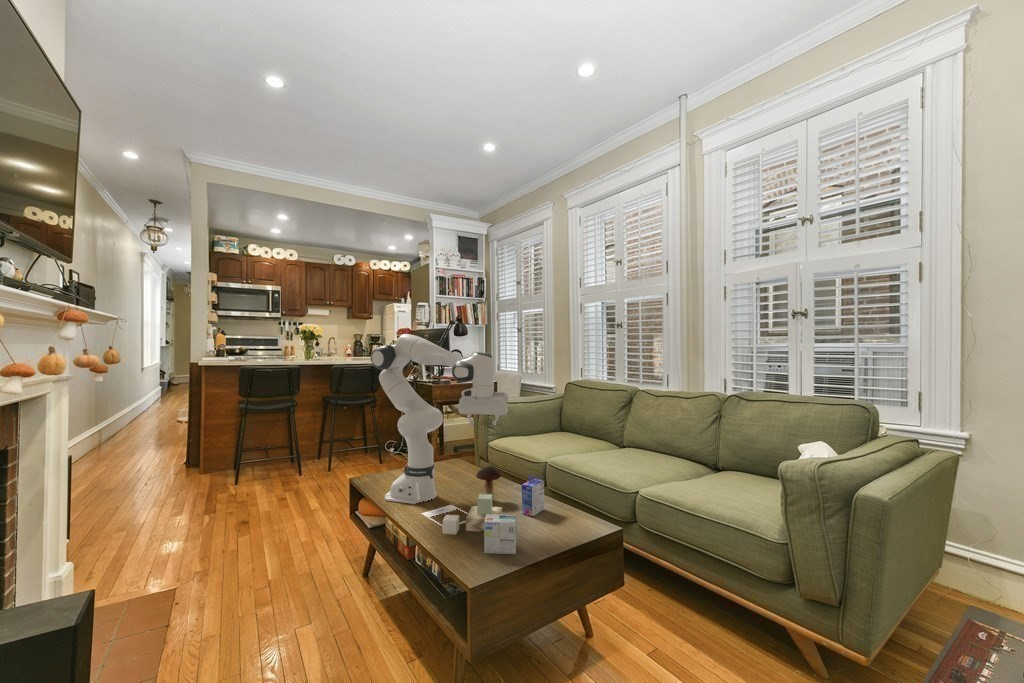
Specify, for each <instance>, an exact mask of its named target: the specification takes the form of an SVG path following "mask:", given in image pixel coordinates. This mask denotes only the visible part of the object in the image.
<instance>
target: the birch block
mask: <svg viewBox="0 0 1024 683" xmlns="http://www.w3.org/2000/svg"><path fill="white" fill-rule="evenodd" d="M467 513H468V515H467V514H466V517H465V521H466V522H465V532H480V531H484V521H485V517H486V515H477V505H472V506H471V507H470V509H469V511H468V512H467ZM491 514H503V507H502V506H492V512H491Z"/></svg>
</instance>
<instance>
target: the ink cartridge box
mask: <svg viewBox="0 0 1024 683" xmlns="http://www.w3.org/2000/svg"><path fill="white" fill-rule="evenodd" d="M527 479H528V481H526V482H524V483H523V484H521V509H522V512H521V513H522V515H524V514H526V515H525V516H528V515H530V516H529V517H531V516H533V517H534V516H536V515H537V514H539V513H540V512H541V513H542V511H544V510H545V480H544V479H539V478H535V477H534V475H533V474H531V475H529V476H527Z"/></svg>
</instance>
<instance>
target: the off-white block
mask: <svg viewBox="0 0 1024 683" xmlns="http://www.w3.org/2000/svg"><path fill="white" fill-rule="evenodd" d="M459 523H460V515H458V514H445V516H444V517H443V519H442V525H443V527H442V535H443V534H444V535H457V533H459V530H460V524H459Z"/></svg>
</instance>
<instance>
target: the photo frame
mask: <svg viewBox="0 0 1024 683" xmlns="http://www.w3.org/2000/svg"><path fill="white" fill-rule="evenodd" d="M456 509H458V510H456ZM453 510H454V511H459V510H460V511H459V512H461V511H462V512H461V513H463V512H464V513H463V514H465V513H466V514H465V515H467V514H468V513H469V512H467V511H465V510H463V509H461V508H459V507H457V506H455V505H454V504H449V505H446V506H442V507H438V508H436V509H432V510H428V511H425V512H421V513H420V515H421V514H422V516H423V515H424V516H423V517H425V516H426V517H427V518H426V517H425V518H426V519H428V518H429V519H428V520H430V521H431V520H432V522H433V521H434V522H433V523H435V524H436V523H437V524H436V525H438V526H439V527H441V526H442V527H441V528H443V523H442V524H441V523H440V522H438V521H436V520H435V519H434V518H433V517H432V516H434V517H437V516H436V515H438V516H440V515H439V514H441V515H443V514H442V513H444V514H447V513H446V512H448V513H451V512H454V511H453ZM450 511H451V512H450ZM430 517H431V518H430ZM462 524H466V520H463V521H459V525H462Z"/></svg>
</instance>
